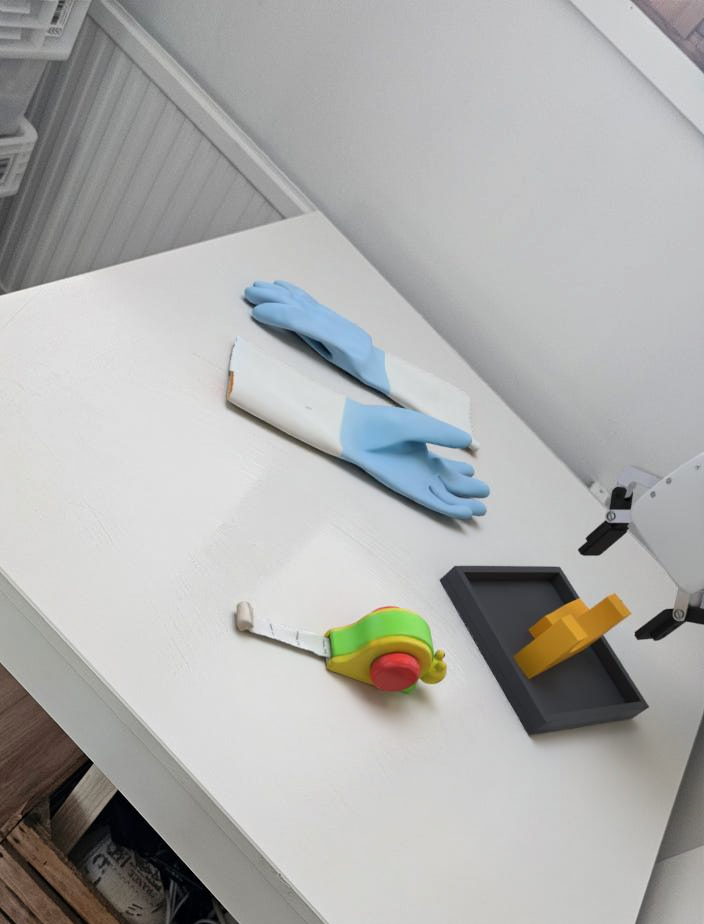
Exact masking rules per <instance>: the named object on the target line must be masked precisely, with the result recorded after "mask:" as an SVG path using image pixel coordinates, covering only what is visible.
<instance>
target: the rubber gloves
mask: <svg viewBox="0 0 704 924" xmlns="http://www.w3.org/2000/svg"><path fill="white" fill-rule="evenodd" d="M243 293H244V297H245V299H246V300H247V301H249V303H251V304H253V305H256V306H254V307H253V308H252V310H251V315H252V318H254V319H255V320H256V321H257V322H259V323H261V324H265V325H268V326H269V325H270V326H274V327H278V328H281V329H285V330H289V331H293V332H294V333H295V334H297V335H298V336H299V337H300V339H302V340H303V341H304V342H305V343H306V344H308V345H309V346H310V347H311V348H312V349H313V350H314V351H316V352H317V353H318V354H319V355H320V356H321V357H323V358H324V359H325V360H327V361H328V362H329V363H331V364H333V365H335V366H337V367H338V368H340V369H342V370H343V371H345V372H347V373H348V374H350V375H351V376H353V377H355V378H356V379H357V380H359V381H360V382H361V383H363V384H365V385H366V386H369V387H371V388H373V389H375V390H377V391H379V392H381V393H383V394H384V395H386V396H387V397H388V398H390V399H391V400H392V401H394V402H395V403H397V405H400V406H401V407H399V406H392V405H381V404H380V405H379V404H366V403H365V404H364V403H361V402H358V401H356V400H354V399H352V398H350V397H348V396H345V395H344V394H341V393H339V392H337V391H335V390H333V389H331V388H329V387H327V386H325V385H324V384H321V383H320V382H318V381H317V380H314V379H312V378H311V377H309V376H307V375H306V374H304V373H302V372H301V371H299V370H297V369H296V368H294V367H292V366H291V365H289V364H286V363H285V362H283V361H281V360H279V359H278V358H276V357H275V356H273V355H272V354H269V353H268V352H266V351H264V350H263V349H261V348H259V347H258V346H256V344H255V345H254V344H253V343H252V342H250V341H248V340H246V339H245V338H243V337H241V336H239V335H237V336H236V338H235V341H234V343H233V344H232V348H231V352H230V355H231V356H230V360H229V366H228V367H229V369H228V371H229V373H230V375H229V381H228V382H227V385H228V386H227V391H226V394H227V395H226V401H229V403H232V404H233V405H235V406H236V407H238V408H240V409H242V410H244V411H245V412H247V413H249V414H251V415H252V416H254V417H256V418H258V419H260V420H262V421H264V422H266V423H267V424H269V425H271V426H273V427H275V428H276V429H278V430H280V431H282V432H283V433H285V434H287V435H289V436H291V437H293V438H295V439H297V440H299V441H301V442H303V443H305V444H306V445H309V446H311V447H313V448H316V449H317V450H319V451H321V452H323V453H325V454H328V455H331V456H334V457H336V458H339V459H341V460H343V461H346V462H349V463H352V464H354V465H356V466H358V467H359V468H361V469H362V470H364V471H365V472H366V473H367V474H368V475H370V476H372V477H373V478H374V479H375V480H377V481H378V482H380V484H382V485H384V486H386V487H387V488H389V489H391V490H392V491H394V492H396V493H398V494H400V495H402V496H404V497H405V498H408V499H410V500H412V501H414V502H415V503H416V504H419V505H420V506H424V507H425V508H427V509H430V510H431V511H435V512H436V513H440V514H442V515H445V516H448V517H450V518H452V519H453V518H454V519H461V520H470V519H471V518H472V517H473V516H474V517H485V515H486V514H487V513H488V509H487V506H486V505H485V504H484V502H482V501H480V500H477V499H486V498H488V497H489V496H490V494H491V488H490V487H489V485H488V484H487V483H486V482H485V481H483V480H481V479H478V478H474V477H473V476H474V475H475V469H474V467H473V465H472V464H470V463H467V462H465V461H457V460H453V459H450V458H445V457H443V456H440V455H438V454H436V453H435V452H432V451H431V450H429V449H428V445H427V444H430V445H434V446H438V447H444V448H448V449H452V450H453V449H454V450H455V449H458V450H459V449H461V450H462V449H466V448H469V449H470V450H472V451H473V452H476V453H477V452H478V451H479V450H480V449H481V443H479V442H477V440H476V437H475V434H474V429H473V427H474V426H473V424H472V421H471V420H472V418H471V415H472V413H471V410H472V407H471V406H472V398H471V395H470V394H468V393H467V392H465V391H463V390H461V388H458V387H456V386H454V385H453V384H451V383H449V382H448V381H445V380H444V379H442V378H440V377H438V376H436V375H435V374H433V373H431V372H430V371H429V372H428V371H427V370H424V369H422V368H420V367H418V366H416V365H414V364H412V363H410V362H408V361H407V360H404V359H403V358H400V357H398V356H396V355H394V354H391V353H389V352H387V351H384V350H383V349H380V348H379V347H376V346H374V344H373V338H372V336H371V335H370V334H369V333H368V332H367V331H366V330H364V329H363V328H362V327H361V326H359V325H357V323H354V322H353V321H351V320H349V319H348V318H347V317H344V316H342V315H341V314H338V313H337V312H336V311H334V310H332V309H331V308H329V307H328V306H326V305H325V304H322V303H320V302H318V301H317V300H316V299H315V298H314V297H313V296H311V295H310V293H308V292H306V291H305V290H303V288H301V287H298V286H297V285H295V284H292V283H291V282H288V281H286V280H283V279H277V280H275V281H273V283H272V282H267V281H262V280H254V282H252V286H248V287H246V288H245V289H244V292H243Z"/></svg>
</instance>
